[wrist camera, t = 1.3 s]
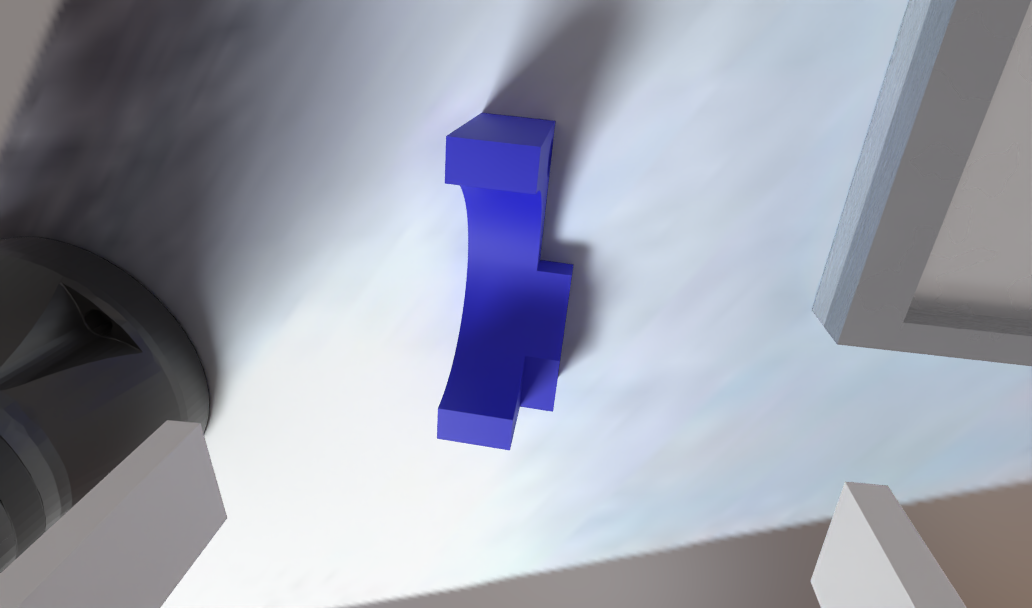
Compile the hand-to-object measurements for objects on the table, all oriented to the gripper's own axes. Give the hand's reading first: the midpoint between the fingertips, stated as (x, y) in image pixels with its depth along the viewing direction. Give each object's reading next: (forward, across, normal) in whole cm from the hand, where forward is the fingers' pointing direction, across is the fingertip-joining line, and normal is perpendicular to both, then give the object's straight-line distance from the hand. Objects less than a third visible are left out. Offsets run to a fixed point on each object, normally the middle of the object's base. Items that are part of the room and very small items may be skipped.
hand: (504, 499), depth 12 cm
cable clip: (+15, -1, 0) cm, 15 cm away
